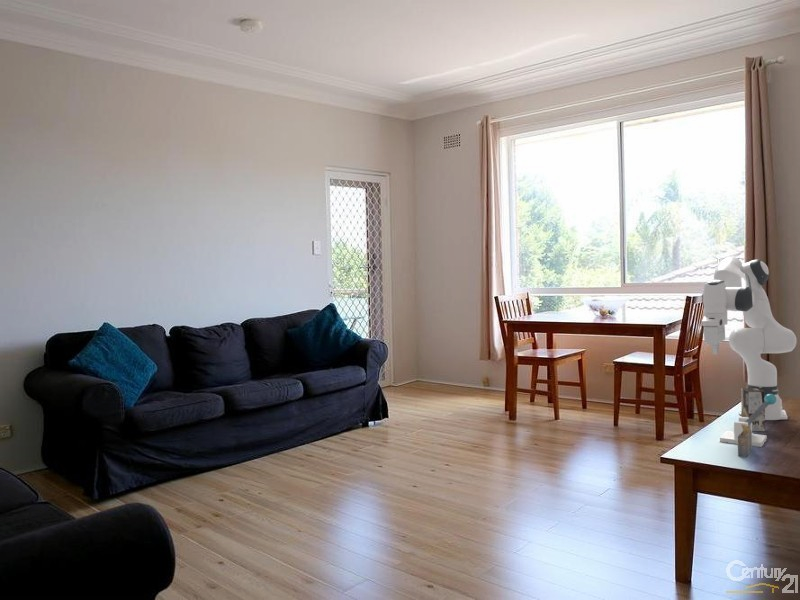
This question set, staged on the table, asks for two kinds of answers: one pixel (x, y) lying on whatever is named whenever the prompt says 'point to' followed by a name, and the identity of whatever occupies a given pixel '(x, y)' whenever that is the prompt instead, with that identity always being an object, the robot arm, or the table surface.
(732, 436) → the lever stand
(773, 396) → the lever
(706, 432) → the table surface
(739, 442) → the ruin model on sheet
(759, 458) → the table surface
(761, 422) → the coffee box
